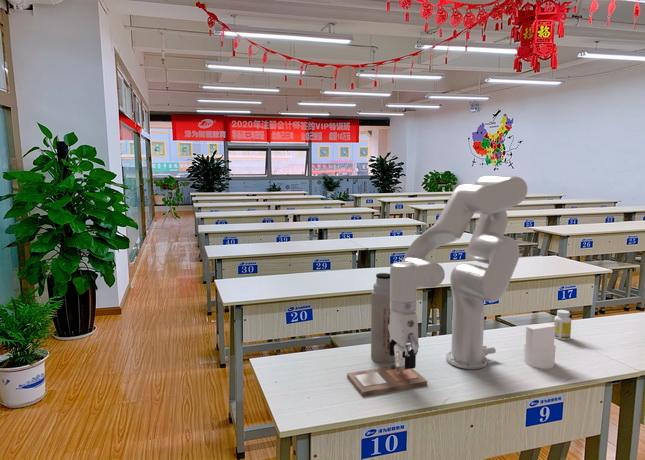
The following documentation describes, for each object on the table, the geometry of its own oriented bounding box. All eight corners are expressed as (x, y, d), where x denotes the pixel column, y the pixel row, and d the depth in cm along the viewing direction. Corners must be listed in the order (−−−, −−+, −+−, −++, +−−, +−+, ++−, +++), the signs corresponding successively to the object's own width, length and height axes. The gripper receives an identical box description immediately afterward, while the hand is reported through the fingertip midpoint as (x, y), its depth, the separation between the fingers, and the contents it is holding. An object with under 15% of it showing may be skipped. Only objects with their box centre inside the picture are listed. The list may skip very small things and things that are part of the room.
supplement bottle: (572, 337, 167) (574, 311, 166) (567, 341, 163) (569, 314, 162) (556, 333, 171) (557, 308, 169) (551, 337, 167) (552, 311, 166)
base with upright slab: (539, 354, 153) (541, 319, 151) (561, 366, 144) (563, 329, 142) (516, 358, 150) (518, 323, 148) (537, 370, 141) (539, 332, 140)
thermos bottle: (399, 361, 149) (400, 276, 145) (376, 364, 147) (377, 278, 143) (389, 351, 156) (390, 270, 152) (367, 354, 154) (367, 272, 150)
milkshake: (411, 377, 134) (412, 345, 133) (393, 376, 135) (393, 343, 134) (411, 371, 139) (412, 339, 137) (393, 369, 140) (394, 337, 138)
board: (407, 367, 144) (407, 362, 144) (427, 384, 133) (427, 380, 133) (347, 377, 138) (347, 372, 138) (362, 396, 127) (362, 391, 127)
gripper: (430, 312, 127) (428, 372, 129) (400, 295, 143) (400, 348, 146) (405, 316, 125) (404, 376, 127) (378, 298, 141) (378, 351, 143)
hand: (402, 361), depth 136 cm, fingers open, 9 cm apart
